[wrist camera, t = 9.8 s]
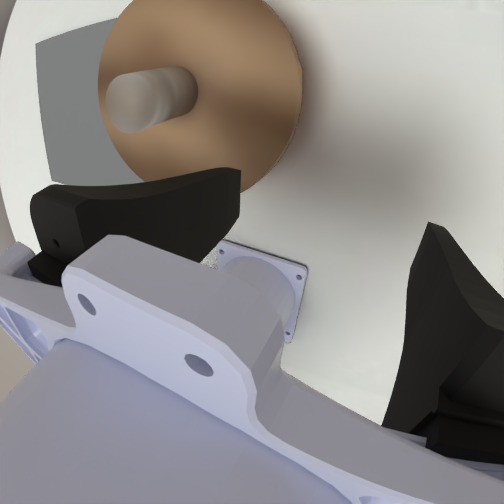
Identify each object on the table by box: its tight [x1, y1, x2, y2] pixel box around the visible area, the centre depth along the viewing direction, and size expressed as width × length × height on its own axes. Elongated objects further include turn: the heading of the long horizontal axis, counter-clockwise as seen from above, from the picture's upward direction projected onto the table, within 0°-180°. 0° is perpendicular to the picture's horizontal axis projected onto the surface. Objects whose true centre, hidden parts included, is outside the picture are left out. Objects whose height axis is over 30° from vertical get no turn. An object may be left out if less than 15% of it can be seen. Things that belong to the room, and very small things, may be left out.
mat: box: [36, 18, 144, 186], centre depth 27 cm, size 18×18×1 cm
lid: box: [98, 0, 303, 193], centre depth 15 cm, size 14×14×5 cm
